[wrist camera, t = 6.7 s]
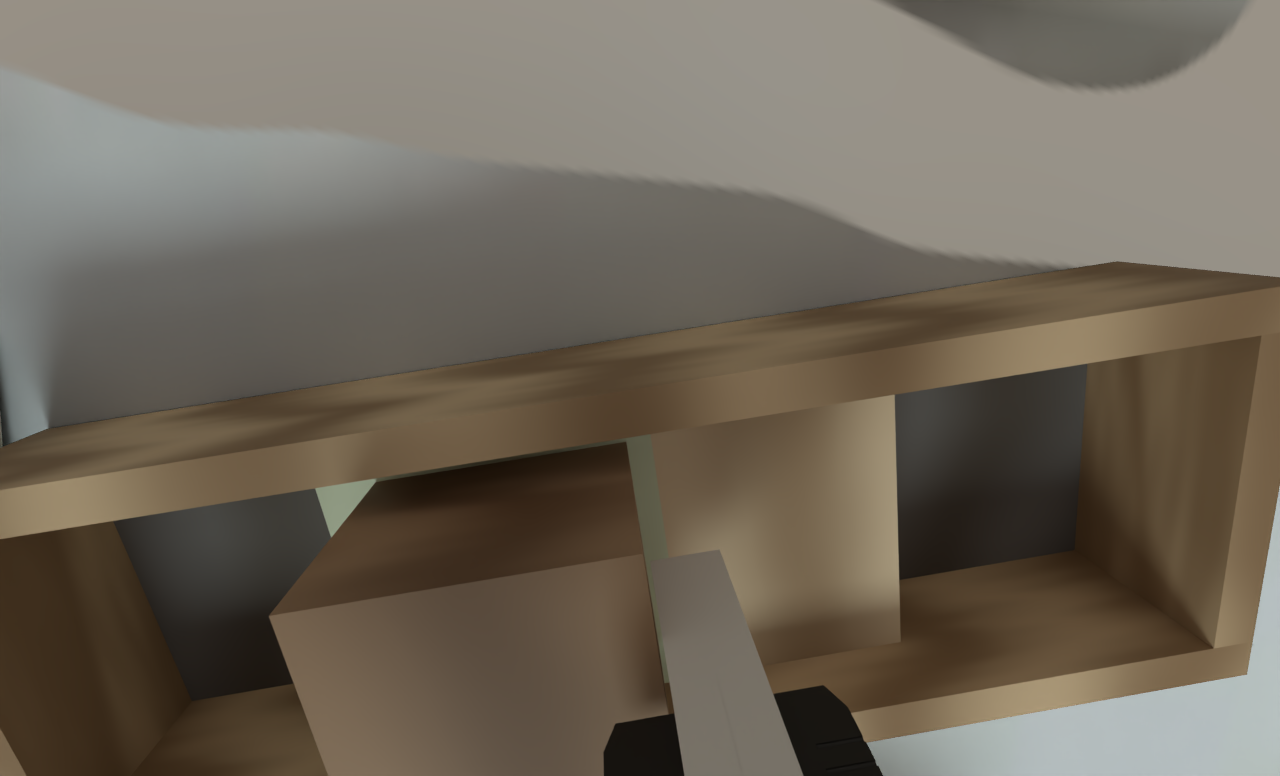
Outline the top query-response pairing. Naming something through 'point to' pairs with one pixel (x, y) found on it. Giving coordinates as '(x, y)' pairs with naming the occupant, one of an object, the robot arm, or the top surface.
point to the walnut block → (479, 622)
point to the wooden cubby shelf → (700, 510)
